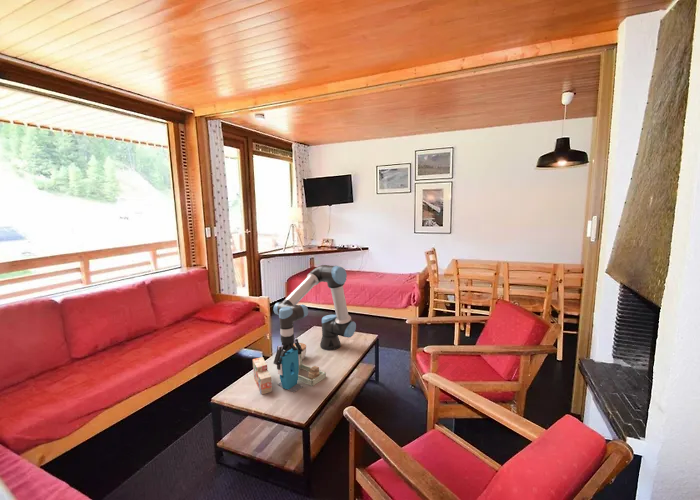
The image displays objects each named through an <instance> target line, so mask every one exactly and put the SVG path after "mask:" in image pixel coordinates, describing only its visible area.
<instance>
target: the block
mask: <svg viewBox="0 0 700 500" xmlns="http://www.w3.org/2000/svg"><path fill="white" fill-rule="evenodd" d="M280 357H281V356H280ZM281 364H282V373H283V375H280V374H279V379H280V380H279V381H280V382H281V384H282V387H281V388H282V389H285V390H288V391H290V390H289V389H290V388H292V387H293V386H294V385H296V384H298V383H299V380H298V375H300V374H299V373H300V369H299V365H298V349H297V350H293V349H291V350H289V351H287V352H286V353H285V355H284V356H283V357H282V362H281Z"/></svg>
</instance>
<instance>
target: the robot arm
mask: <svg viewBox="0 0 700 500" xmlns="http://www.w3.org/2000/svg"><path fill="white" fill-rule="evenodd" d="M347 277H348V275H347V271H346V269H345V268H344V267H342V266H339V265H331V264H330V265H329V264H322V265H319V266H317V267H315V268H314V269H312V270H310V272H309V273H308V274H307V275H306V278H305V279H304V280H303V281H302V282H301V283H300V284H298V285H297V287H295V288H294V290H292V291H291V292H290V293H289V294H288V296H286V298H285V299H284V300H283V301H281V302H280V301H279V302H278V301H277V302H276V303H275V304H274V306H273V310H272V311H273V313H274V314H275V315H278V319H279V330H280V331H279V333H280V342H281V345H278V346H277V347H276V348H277V349H276V354H275V356H274V360H273V365H276V369H277V372H278V375H279V376H280V375H283V373H282V364H281V362H282V357H283V356H284V355H285V353H286V352H287V351H289V350H291V349H293V350H297V349H298V365H300V354H301V352H302V351H303V350H302V348H301V346H300V344H299V343H300V342H299V338H296V337H295V334H294V332H295V331H294V322H296V321H299V320H302V319H304V318H306V317H308V316H309V315H308V314H309V309H308V307H307V305H305V304H299V302H301V300H302V299H303V298H304V297H305V296H306V295H307V294H308V293H309V292H310V291H311V290H312V289H313V288H314V287H315V286H317V285H319V283H326V284H327V287H328V288H329V289H330V293H331V297H332V298H331V299H332V302H333V307H334V311H335V314H328V315H323V317H322V318H321V334H322V335H321V340H320V343H319V344H320V345H319V346H320V349H323V350H326V351H333V350H337V349H339V348H340V347H341V340H340V338H339V336H340V337H342V338H343V337H344V338H351V337H352V336H354V334H355V332H356V328H357V324H356V322H355V321H353V320H352V316H351V315H349V311H348V310H349V309H348V307H347V305H348V304H347V301H346V296H345V290H344V286H345V283H346V281H347ZM297 304H299V305H297ZM294 343H295V345H296V347H297V348H296V347H295V346H294V345H293V344H294ZM280 356H281V357H280Z"/></svg>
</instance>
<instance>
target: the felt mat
mask: <svg viewBox="0 0 700 500" xmlns="http://www.w3.org/2000/svg"><path fill="white" fill-rule="evenodd" d="M277 385H278V386H279V387H281V388H283V387H282V384H281V381H280V382H279V383H277ZM303 387H304V386H303V385H301V384H298V383H297V384H296V385H294V386H293V387H292V388H290V389H289V390H288V391H289V392H292V393H295V392H298V391H299V390H300V389H302V388H303Z"/></svg>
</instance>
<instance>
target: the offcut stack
mask: <svg viewBox="0 0 700 500" xmlns="http://www.w3.org/2000/svg"><path fill="white" fill-rule="evenodd" d="M311 367H312V368H310V372H308V376H307V378H308V379H310V380H313V379H314V378H316V377H318V376H319V375H320V374H319V370H320V367H319V366H317V365H313V366H311Z"/></svg>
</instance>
